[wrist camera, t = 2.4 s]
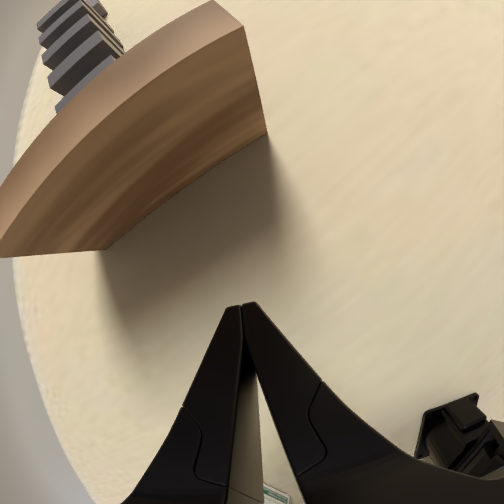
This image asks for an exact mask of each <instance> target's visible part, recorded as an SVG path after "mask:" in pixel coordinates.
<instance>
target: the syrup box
mask: <svg viewBox="0 0 504 504" xmlns="http://www.w3.org/2000/svg"><path fill="white" fill-rule="evenodd" d="M263 487H264V504H289V502H290V496H289V495H288V494H286V493H282V492H280V491H278V490H276V489H274V488H272V487H270V486H268V485H266V484H264V483H263Z"/></svg>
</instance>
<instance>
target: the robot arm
mask: <svg viewBox="0 0 504 504" xmlns="http://www.w3.org/2000/svg"><path fill="white" fill-rule="evenodd" d="M256 374H257V375H256ZM257 377H258V380H259V383H260V385H261V388H262V391H263V394H264V397H265V400H266V402H267V405H268V408H269V411H270V414H271V416H272V419H273V422H274V425H275V427H276V430H277V433H278V436H279V438H280V441H281V444H282V446H283V449H284V452H285V454H286V457H287V459H288V462H289V465H290V467H291V470H292V472H293V475H294V478H295V480H296V483H297V485H298V488H299V490H300V493H301V495H302V498H303V500H304V503H305V504H504V422H500V421H496V420H492V419H491V420H490V422H488V421H487V420H486V418H487V417H486V415H485V414H484V413H483V412H482V411H481V410H480V409H479V408H478V407H477V403H478V399H479V395H478V394H477V393H473V394H470V395H468V396H466V397H463V398H461V399H458V400H456V401H453V402H450V403H448V404H445V405H442V406H439V407H436V408H433V409H430V410H428V411H426V412H425V413H424V415H423V420H422V425H421V430H420V435H419V439H418V443H417V447H416V451H415V455H414V456H415V458H414V457H412V456H411V455H409V454H407V453H405V452H404V451H402V450H401V449H399V448H398V447H397V446H395V445H394V444H393V443H391V442H390V441H389V440H387V439H386V438H385V437H384V436H382V435H381V434H380V433H378V432H377V431H376V430H375V429H373V428H372V427H371V426H370V425H368V424H367V423H366V422H365V421H364V420H362V419H361V418H360V417H359V416H358V415H356V414H355V413H354V412H353V411H352V410H351V409H350V408H349V407H348V406H346V405H345V404H344V403H343V402H342V401H341V400H340V398H339V397H338V396H337V395H336V394H335V393H334V392H333V391H332V390H331V389H330V388H329V387H328V386H327V384H326V383H325V382H324V381H322V379H321V378H320V377H319V375H318V374H317V373H316V372H315V371H314V370H313V369H312V367H311V366H310V365H309V364H308V363H307V362H306V361H305V359H304V358H303V357H302V356H301V355H300V354H299V352H298V351H297V350H296V349H295V348H294V347H293V345H292V344H291V343H290V342H289V341H288V339H287V338H286V337H285V336H284V335H283V334H282V332H281V331H280V330H279V329H278V328H277V326H276V325H275V324H274V323H273V322H272V321H271V319H270V318H269V317H268V316H267V315H266V313H265V312H264V311H263V310H262V309H261V307H260V306H259V305H258V304H257V303H256V302H249V303H245V304H242V306H240V305H235V306H230V307H227V308H226V309H225V312H224V314H223V316H222V318H221V320H220V323H219V325H218V327H217V329H216V331H215V334H214V336H213V338H212V340H211V342H210V345H209V347H208V349H207V351H206V353H205V356H204V358H203V360H202V362H201V364H200V367H199V369H198V371H197V373H196V375H195V378H194V380H193V382H192V384H191V387H190V389H189V391H188V393H187V395H186V398H185V400H184V402H183V404H182V406H183V407H181V408H180V410H179V413H178V415H177V417H176V419H175V421H174V423H173V425H172V427H171V430H170V432H169V434H168V436H167V437H166V439H165V441H164V442H163V444H162V446H161V448H160V449H159V451H158V453H157V454H156V456H155V457H154V459H153V461H152V462H151V464H150V465H149V467H148V469H147V470H146V472H145V473H144V475H143V476H142V478H141V480H140V481H139V483H138V484H137V486H136V487H135V489H134V490H133V492H132V493H131V494H130V495H129V496H128V497H127V498H126V499H125V500H124V501H123V502H122V503H121V504H264V487H263V471H262V454H261V438H260V421H259V404H258V387H257ZM429 414H430V415H429ZM428 415H429V416H428ZM427 456H430V457H431V459H432V461H433V462H434V464H435V465H433V464H430V463H427V462H424V461H421V460H418V459H421V458H424V457H427Z"/></svg>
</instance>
